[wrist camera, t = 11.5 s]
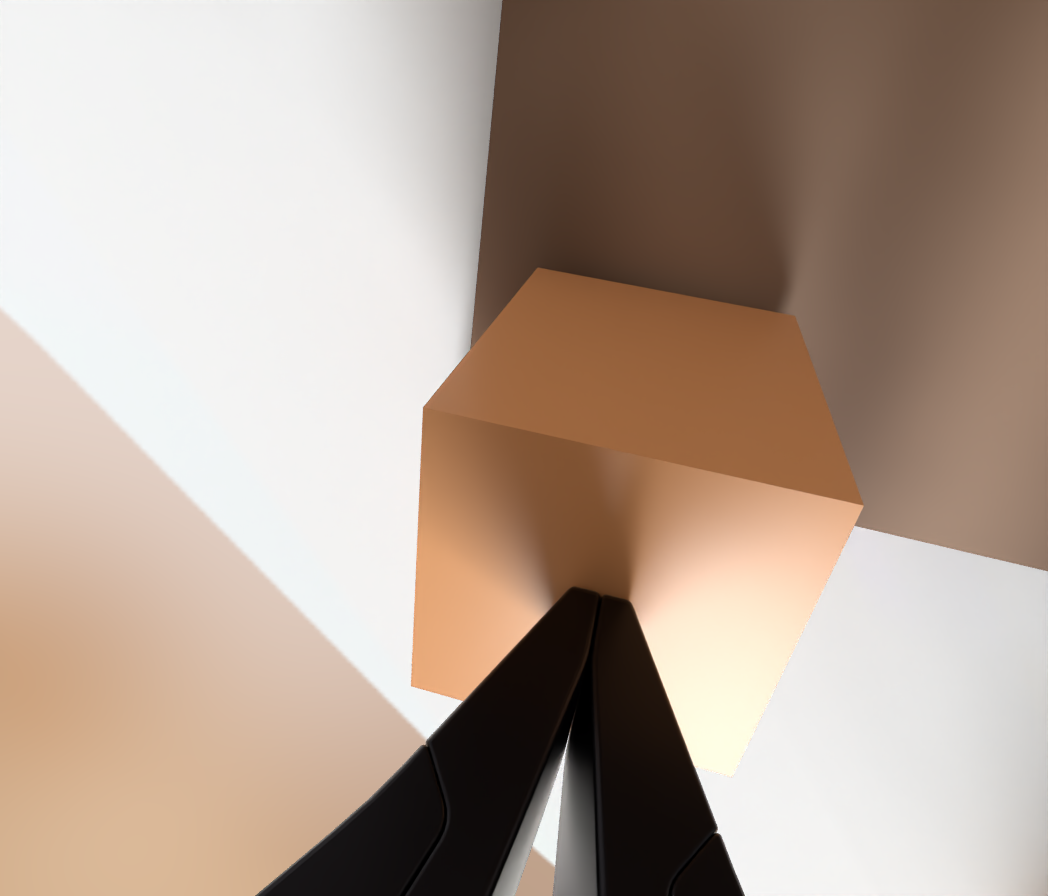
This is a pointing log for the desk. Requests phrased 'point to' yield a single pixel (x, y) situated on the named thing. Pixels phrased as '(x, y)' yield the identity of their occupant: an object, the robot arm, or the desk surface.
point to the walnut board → (812, 215)
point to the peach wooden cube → (632, 493)
